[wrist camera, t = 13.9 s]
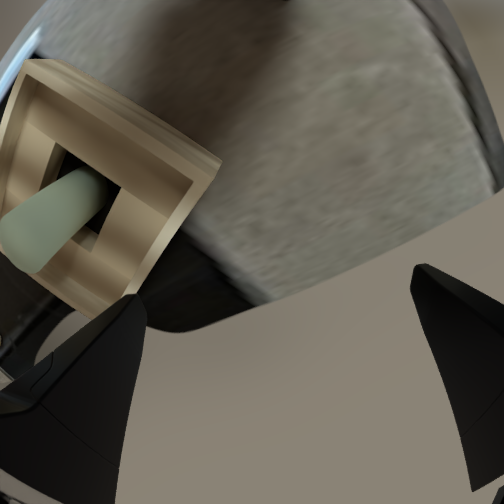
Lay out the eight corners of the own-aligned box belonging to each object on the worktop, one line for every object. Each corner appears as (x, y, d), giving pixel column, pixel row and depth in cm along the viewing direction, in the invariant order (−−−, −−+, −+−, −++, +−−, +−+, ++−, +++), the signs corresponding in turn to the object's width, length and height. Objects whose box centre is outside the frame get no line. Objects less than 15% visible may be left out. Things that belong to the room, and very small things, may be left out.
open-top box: (61, 59, 15) (25, 59, 11) (222, 161, 19) (213, 178, 16) (9, 213, 21) (-19, 233, 17) (128, 300, 26) (112, 332, 22)
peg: (78, 156, 19) (2, 200, 11) (116, 182, 20) (49, 238, 12) (63, 196, 21) (-4, 250, 13) (98, 220, 22) (39, 284, 14)
